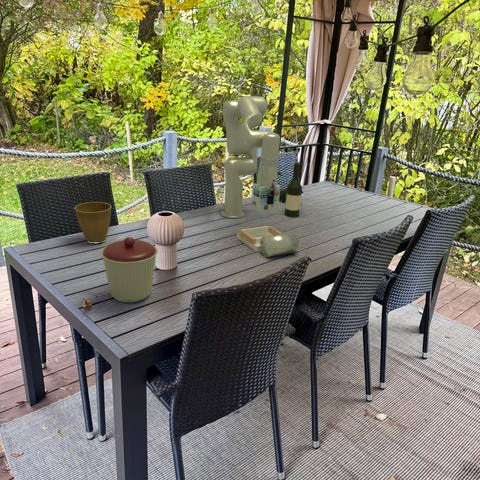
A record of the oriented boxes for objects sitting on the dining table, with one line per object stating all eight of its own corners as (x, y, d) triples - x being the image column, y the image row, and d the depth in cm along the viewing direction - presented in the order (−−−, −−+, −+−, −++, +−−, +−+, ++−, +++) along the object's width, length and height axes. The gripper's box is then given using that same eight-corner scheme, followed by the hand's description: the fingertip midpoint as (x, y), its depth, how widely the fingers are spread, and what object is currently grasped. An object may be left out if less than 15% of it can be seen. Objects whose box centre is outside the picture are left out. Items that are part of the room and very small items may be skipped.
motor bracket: (235, 237, 200) (237, 219, 197) (267, 233, 208) (268, 216, 205) (267, 260, 177) (269, 241, 174) (300, 254, 186) (303, 235, 182)
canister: (92, 301, 139) (87, 241, 131) (124, 278, 155) (122, 224, 147) (139, 314, 133) (137, 253, 125) (167, 289, 149) (167, 234, 141)
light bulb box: (258, 211, 186) (260, 187, 182) (251, 206, 191) (252, 183, 187) (279, 209, 191) (281, 185, 187) (271, 204, 196) (273, 182, 192)
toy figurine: (265, 201, 267) (298, 207, 252) (265, 171, 261) (299, 175, 246) (273, 198, 274) (307, 204, 258) (274, 169, 268) (308, 173, 253)
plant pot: (103, 232, 196) (101, 199, 190) (119, 242, 186) (117, 208, 180) (71, 239, 186) (68, 205, 180) (87, 250, 176) (84, 214, 170)
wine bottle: (282, 216, 235) (287, 162, 224) (286, 212, 243) (292, 160, 232) (296, 218, 233) (303, 164, 222) (300, 214, 240) (306, 162, 229)
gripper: (251, 158, 189) (248, 197, 195) (272, 167, 175) (269, 208, 181) (265, 158, 192) (262, 196, 199) (287, 166, 178) (283, 206, 185)
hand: (265, 201), depth 190 cm, fingers closed on light bulb box, 6 cm apart
